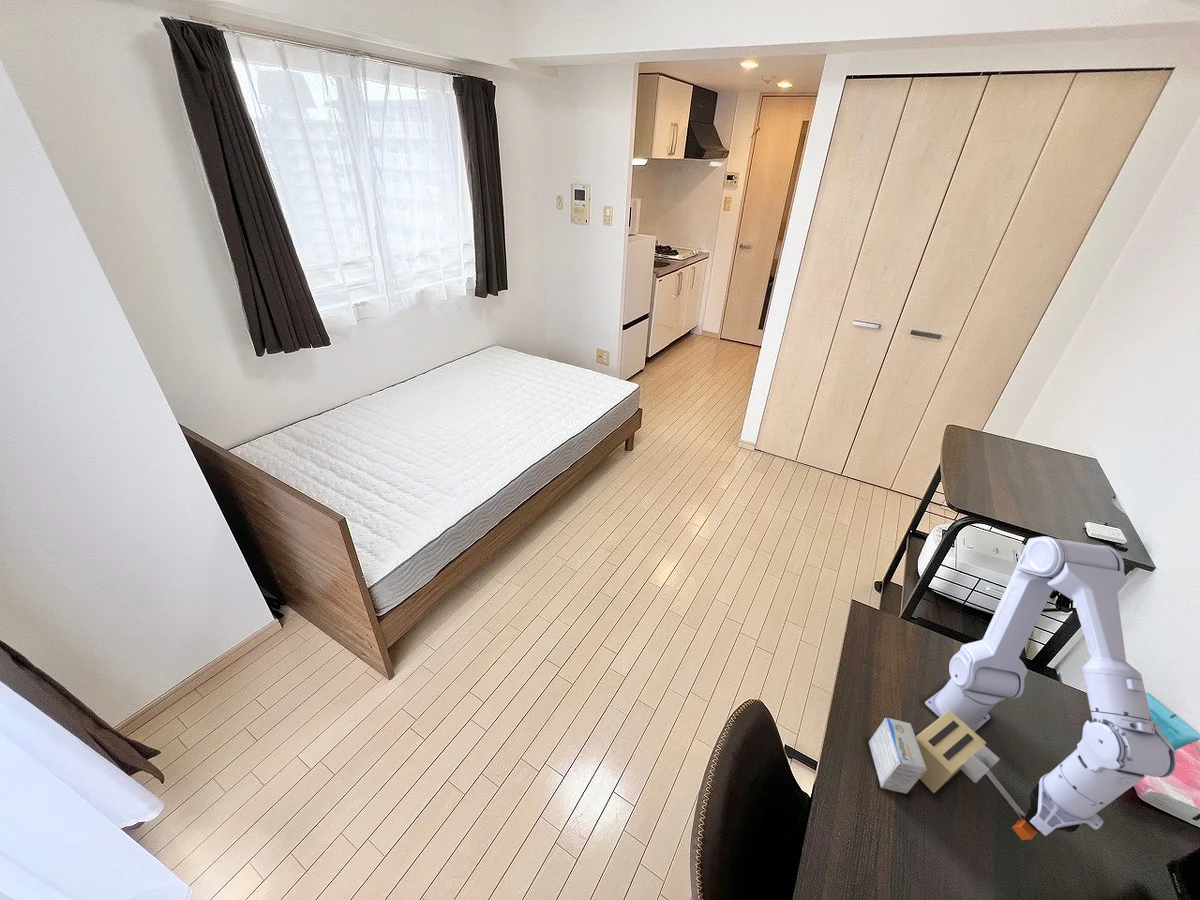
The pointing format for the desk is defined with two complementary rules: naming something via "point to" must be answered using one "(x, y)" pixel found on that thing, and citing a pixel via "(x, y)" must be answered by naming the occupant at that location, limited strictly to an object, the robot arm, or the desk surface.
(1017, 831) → the lever
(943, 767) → the toaster
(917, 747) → the medicine box
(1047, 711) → the desk surface
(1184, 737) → the tube
